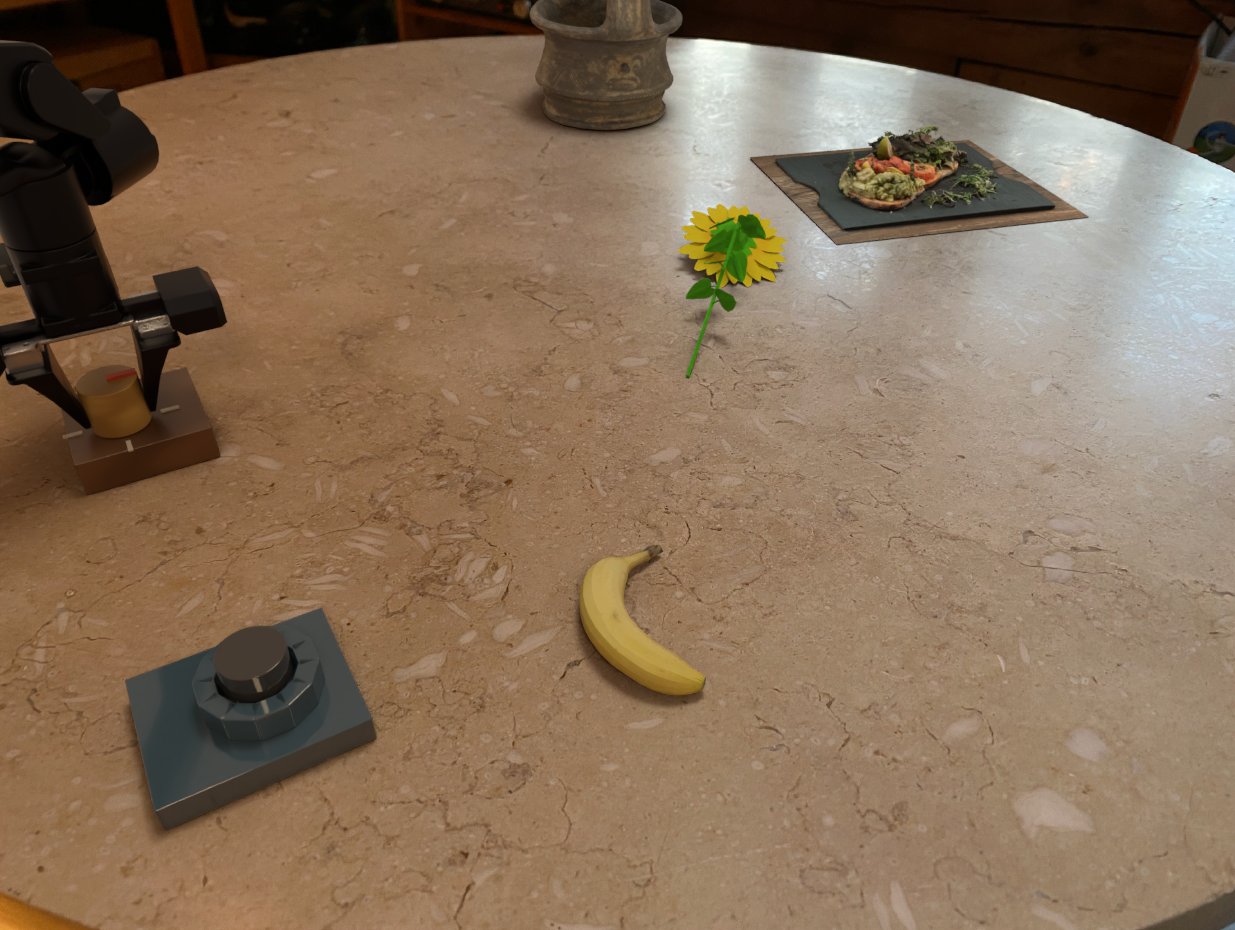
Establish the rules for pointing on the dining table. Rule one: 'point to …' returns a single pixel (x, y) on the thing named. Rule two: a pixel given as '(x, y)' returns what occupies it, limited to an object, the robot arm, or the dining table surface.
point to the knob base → (244, 724)
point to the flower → (729, 254)
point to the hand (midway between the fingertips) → (120, 417)
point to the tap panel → (146, 440)
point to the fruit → (630, 630)
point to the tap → (113, 401)
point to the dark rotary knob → (253, 664)
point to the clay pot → (604, 61)
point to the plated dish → (911, 189)
